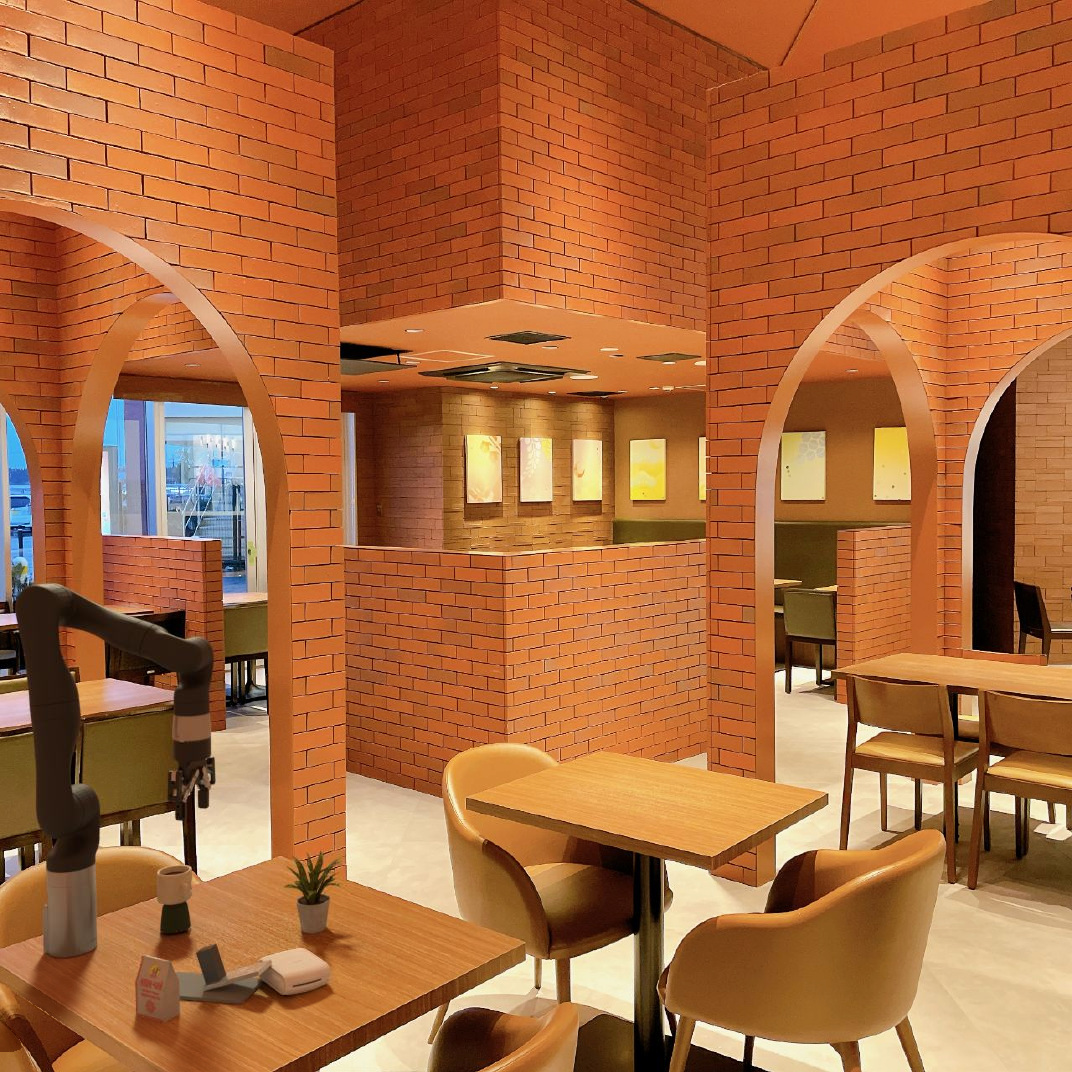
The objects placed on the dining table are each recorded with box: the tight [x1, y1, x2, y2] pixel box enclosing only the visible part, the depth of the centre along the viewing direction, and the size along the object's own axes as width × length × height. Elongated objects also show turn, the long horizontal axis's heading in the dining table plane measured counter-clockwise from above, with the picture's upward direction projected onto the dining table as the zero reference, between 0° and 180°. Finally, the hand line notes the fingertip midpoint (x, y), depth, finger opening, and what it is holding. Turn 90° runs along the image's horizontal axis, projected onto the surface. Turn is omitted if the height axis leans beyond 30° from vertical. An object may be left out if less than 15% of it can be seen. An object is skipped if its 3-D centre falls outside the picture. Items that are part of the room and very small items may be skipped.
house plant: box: [282, 850, 346, 934], centre depth 215 cm, size 14×14×16 cm
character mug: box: [156, 864, 193, 934], centre depth 216 cm, size 11×7×13 cm, turn 45°
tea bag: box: [134, 954, 181, 1023], centre depth 179 cm, size 4×7×10 cm, turn 63°
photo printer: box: [257, 947, 332, 996], centre depth 190 cm, size 10×4×12 cm
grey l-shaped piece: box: [195, 943, 272, 991], centre depth 188 cm, size 12×5×7 cm, turn 77°
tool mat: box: [175, 971, 265, 1005], centre depth 188 cm, size 18×9×1 cm, turn 79°
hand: (192, 814), depth 207 cm, fingers open, 8 cm apart
